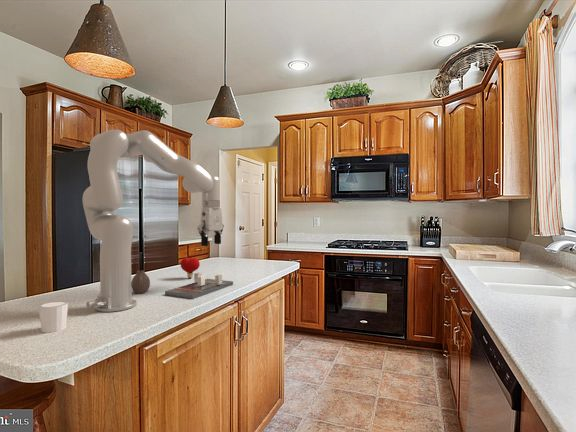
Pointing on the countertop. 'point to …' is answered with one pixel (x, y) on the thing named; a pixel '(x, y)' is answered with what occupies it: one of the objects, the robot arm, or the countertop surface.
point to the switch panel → (199, 287)
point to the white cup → (53, 316)
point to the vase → (140, 282)
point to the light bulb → (190, 266)
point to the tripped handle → (200, 280)
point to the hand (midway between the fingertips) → (211, 244)
